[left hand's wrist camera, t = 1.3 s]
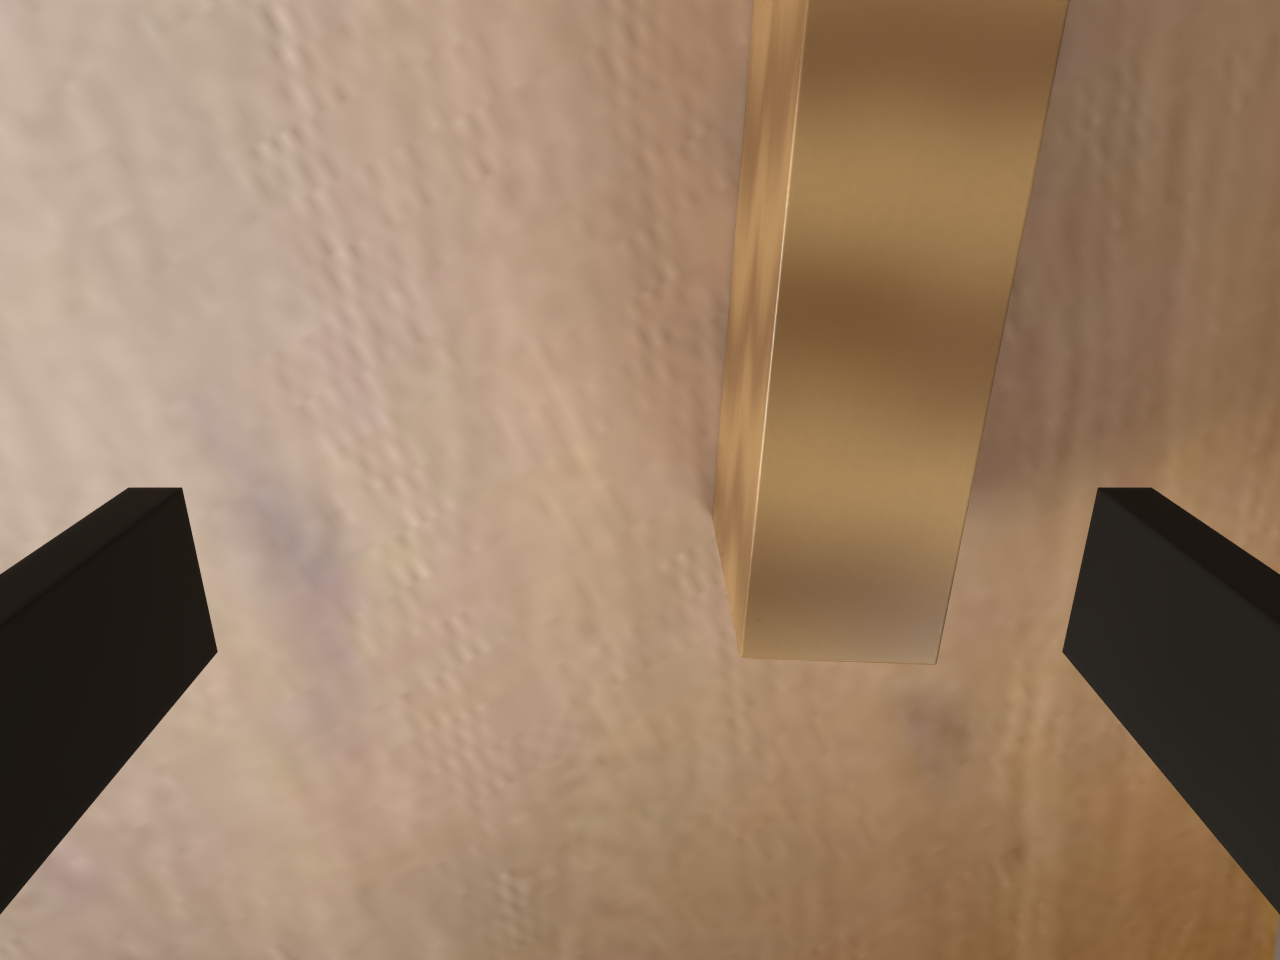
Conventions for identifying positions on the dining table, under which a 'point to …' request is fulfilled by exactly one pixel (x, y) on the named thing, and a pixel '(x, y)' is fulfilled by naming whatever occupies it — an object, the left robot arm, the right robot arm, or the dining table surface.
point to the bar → (870, 309)
